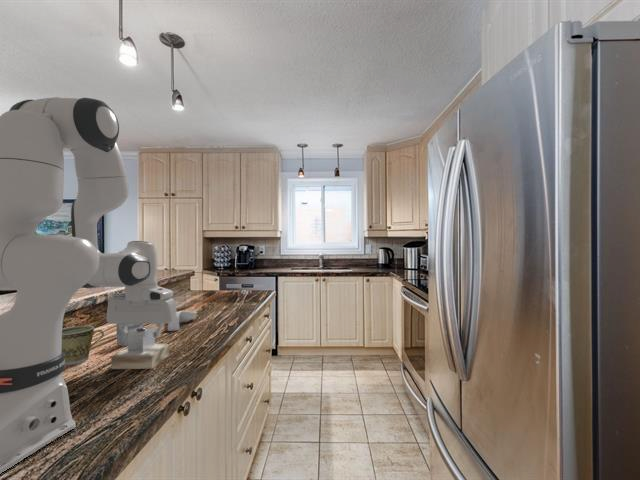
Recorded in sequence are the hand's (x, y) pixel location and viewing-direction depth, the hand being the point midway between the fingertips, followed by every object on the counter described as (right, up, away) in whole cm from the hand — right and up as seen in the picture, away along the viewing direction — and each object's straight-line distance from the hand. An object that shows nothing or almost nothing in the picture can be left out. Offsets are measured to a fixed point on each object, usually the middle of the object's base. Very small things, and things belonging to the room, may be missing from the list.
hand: (141, 337), depth 99 cm
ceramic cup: (-20, -8, +1) cm, 21 cm away
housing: (0, -4, 0) cm, 4 cm away
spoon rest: (-8, -8, +46) cm, 47 cm away
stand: (0, -8, 0) cm, 8 cm away
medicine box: (-15, -8, +19) cm, 25 cm away
